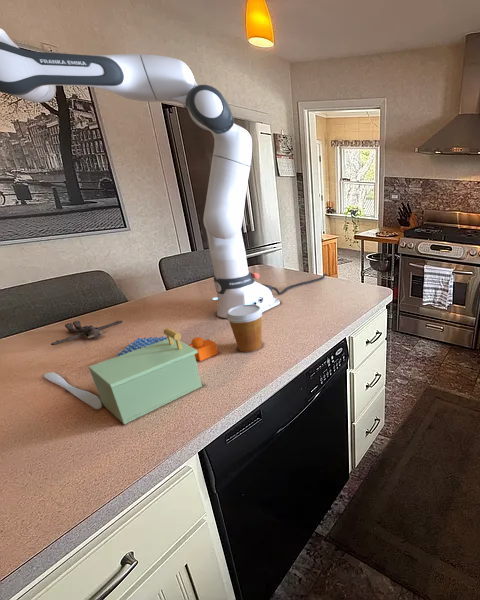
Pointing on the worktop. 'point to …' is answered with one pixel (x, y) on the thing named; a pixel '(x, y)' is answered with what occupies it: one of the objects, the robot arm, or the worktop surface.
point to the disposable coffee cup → (246, 326)
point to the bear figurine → (84, 331)
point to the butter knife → (75, 390)
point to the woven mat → (140, 344)
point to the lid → (143, 360)
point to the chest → (149, 389)
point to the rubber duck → (204, 348)
